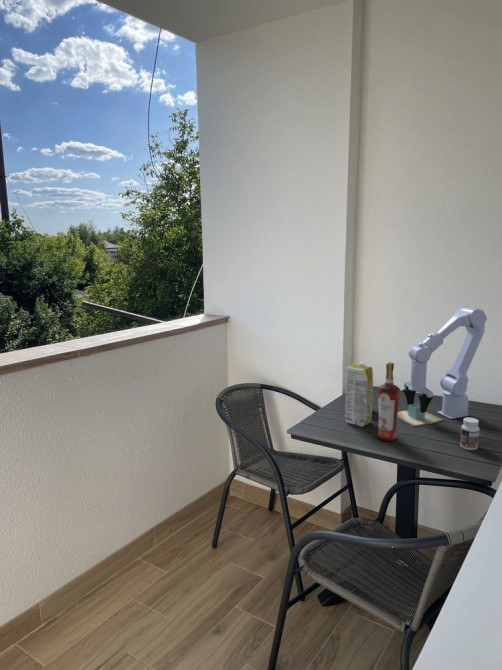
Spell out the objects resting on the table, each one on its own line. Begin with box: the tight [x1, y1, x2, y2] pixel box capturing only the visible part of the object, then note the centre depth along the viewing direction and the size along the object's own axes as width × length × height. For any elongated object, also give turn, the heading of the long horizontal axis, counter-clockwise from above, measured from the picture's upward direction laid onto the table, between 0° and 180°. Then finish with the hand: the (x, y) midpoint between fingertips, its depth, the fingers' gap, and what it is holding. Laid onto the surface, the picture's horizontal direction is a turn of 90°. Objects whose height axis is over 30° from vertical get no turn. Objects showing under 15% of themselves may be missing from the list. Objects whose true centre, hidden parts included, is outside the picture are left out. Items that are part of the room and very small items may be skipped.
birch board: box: [397, 409, 444, 427], centre depth 190 cm, size 14×14×1 cm
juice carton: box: [344, 362, 374, 428], centre depth 184 cm, size 9×8×24 cm
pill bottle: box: [459, 416, 481, 451], centre depth 161 cm, size 6×6×10 cm
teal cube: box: [407, 402, 425, 419], centre depth 189 cm, size 4×4×4 cm
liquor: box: [376, 361, 401, 442], centre depth 168 cm, size 7×7×28 cm
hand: (416, 409), depth 189 cm, fingers open, 7 cm apart
